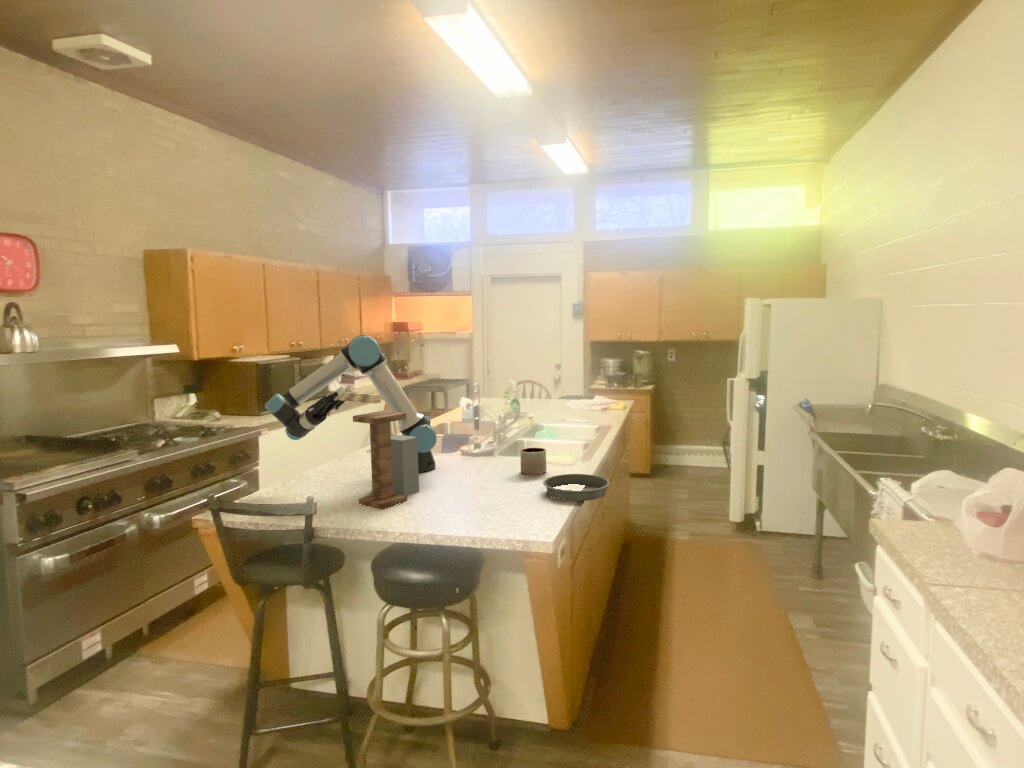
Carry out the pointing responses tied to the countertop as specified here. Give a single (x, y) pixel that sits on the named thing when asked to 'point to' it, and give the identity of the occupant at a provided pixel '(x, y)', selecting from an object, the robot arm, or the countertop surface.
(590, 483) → the cake pan
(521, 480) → the countertop surface
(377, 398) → the birch bar
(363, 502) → the walnut stand
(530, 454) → the planter
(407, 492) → the slate block
